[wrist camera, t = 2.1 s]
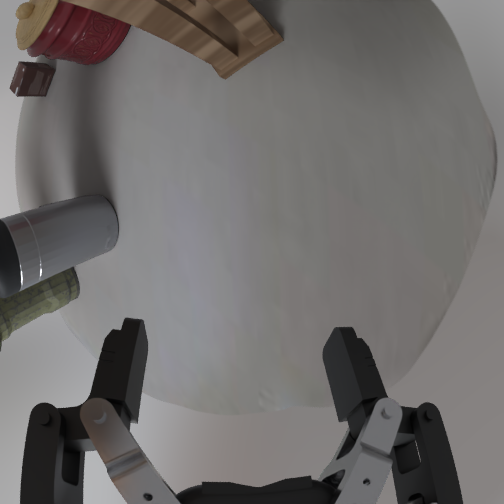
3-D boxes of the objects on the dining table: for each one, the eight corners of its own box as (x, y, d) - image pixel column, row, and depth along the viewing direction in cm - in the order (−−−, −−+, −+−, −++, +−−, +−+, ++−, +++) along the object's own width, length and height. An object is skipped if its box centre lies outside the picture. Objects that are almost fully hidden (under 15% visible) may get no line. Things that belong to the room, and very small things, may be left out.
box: (46, 63, 36) (19, 60, 30) (56, 69, 36) (26, 66, 29) (36, 89, 39) (9, 88, 32) (45, 97, 38) (16, 96, 32)
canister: (115, 68, 32) (13, 52, 16) (72, 64, 34) (-11, 56, 18) (148, -5, 27) (60, -44, 11) (99, 2, 29) (22, -21, 13)
